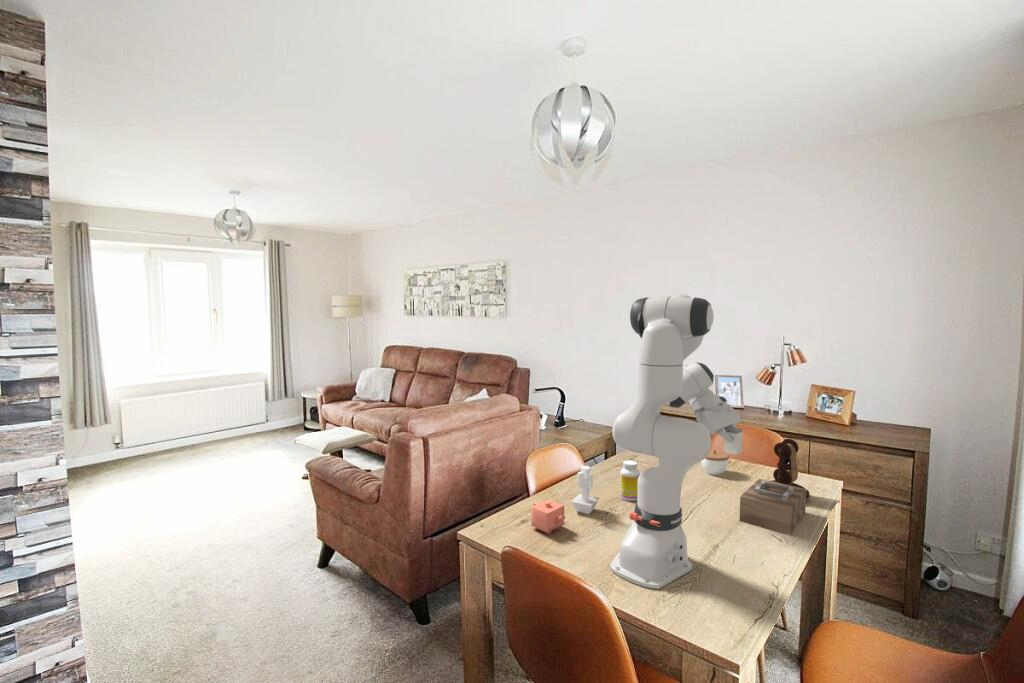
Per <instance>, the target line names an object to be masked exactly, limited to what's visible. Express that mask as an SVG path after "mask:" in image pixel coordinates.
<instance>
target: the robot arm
mask: <svg viewBox="0 0 1024 683" xmlns="http://www.w3.org/2000/svg"><path fill="white" fill-rule="evenodd" d="M629 312H630V313H629V321H630V326H631V328H632V329H633V331H634V332H635V333H636V334H637V335H639V338H641V341H640V346H639V348H640V349H639V361H638V362H639V363H638V364H639V366H638V381H637V382H638V383H637V390H636V394H635V397H634V399H633V402H632V403H631V404H630V405H629V407H628V408H627V409H626V410H624V411H623V412H621V413H620V414H619V415H618V416H617V417H616V418H615V420H614V422H613V424H612V428H611V429H612V430H611V432H612V438H613V440H614V442H615V444H616V445H617V447H620V448H621V449H624V450H626V451H629V452H632V453H636V454H642V455H647V456H650V457H651V456H652V457H656V458H658V465H654V466H652V467H649V468H646V469H644V470H643V471H641V472H640V475H639V477H638V482H637V500H636V501H637V502H636V503H635V507H634V510H633V511H630V513H629V516H628V517H629V520H630V521H631V520H632V522H631V524H630V526H629V528H628V530H627V531H626V534H625V535H624V538H623V539H622V541H621V543H620V547H619V551H618V553H617V554H616V555H615V557H614V558H613V560H612V561H611V562H610V563H609V569H610V570H611V571H612V572H613V573H614V574H615V575H617V576H618V577H620V578H622V579H624V580H626V581H628V582H631V583H633V584H636V585H638V586H642V587H644V588H648V589H656V590H657V589H659V590H660V589H661V588H663V587H665V586H666V585H669V584H670V583H672V582H673V581H675V580H677V579H679V578H680V577H682V576H683V575H686V574H687V573H689V572H690V571H692V570H693V563H692V562H691V561H690V560H689V559H688V558H689V557H688V542H687V541H688V540H687V535H686V533H685V531H684V529H683V527H682V525H681V524H682V519H683V510H682V507H681V494H682V486H683V480H684V478H685V476H686V474H687V473H688V471H689V470H690V469H691V468H692V467H694V465H696V464H697V463H701V461H702V460H703V459H704V458H705V457H706V456H707V455H708V453H709V451H710V450H711V448H712V435H714V434H718V436H720V437H721V438H723V439H724V440H725V439H726V440H727V442H729V443H730V442H732V441H733V440H734V438H733V437H732V436H731V435H729V434H728V433H727V432H726V430H725V428H728V427H736V428H738V427H737V426H736V425H738V424H739V423H741V417H740V415H739V414H738V413H737V411H736V410H735V409H734V408H733V407H732V405H731V404H729V403H728V399H727V398H726V397H724V396H719V395H718V394H715V393H714V392H713V391H712V390H711V389H710V387H711V386H712V385H713V383H714V380H715V379H714V378H715V375H714V373H713V372H712V371H711V369H710V368H709V367H708V366H707V365H706V364H705V363H702V362H698V361H696V362H694V363H691V364H689V365H688V364H684V361H685V360H686V359H687V358H689V356H690V355H692V354H693V353H694V352H695V351H697V349H698V348H699V347H700V346H701V344H702V342H703V340H704V336H706V335H707V334H708V333H709V332H710V331H711V329H712V326H713V323H714V319H715V318H714V317H715V316H714V315H715V314H714V310H713V308H712V304H711V302H710V301H708V300H707V299H705V298H703V297H702V298H701V297H696V296H695V297H693V298H692V297H691V296H689V295H688V294H684V293H677V294H674V295H671V296H657V297H656V296H655V297H651V298H650V297H642V298H639V299H636V300H635V301H634V303H633V304H632V305H631V308H630V311H629ZM687 402H688V403H689V406H690V407H691V408H692V409H693V411H694V416H695V417H696V418H695V419H696V421H694V420H692V419H688V418H683V417H676V416H669V415H662V414H661V407H662V406H663V405H666V406H667V407H671V408H676V409H678V408H682V406H684V405H685V404H686V403H687Z"/></svg>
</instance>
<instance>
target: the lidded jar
mask: <svg viewBox="0 0 1024 683" xmlns="http://www.w3.org/2000/svg"><path fill="white" fill-rule="evenodd" d="M729 459H730V454H729V453H726V452H724V451H722V450H717V449H710V451H709V453H708V455H707V456H706V457H705V458H704V459H703V460H702V461H700V465H701V467H702V469H703V470H704V471H705V473H706V474H709V475H713V476H721V475H723V473H725V472H726V471H727V469H728V467H729Z"/></svg>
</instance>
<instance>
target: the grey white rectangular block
mask: <svg viewBox="0 0 1024 683" xmlns="http://www.w3.org/2000/svg"><path fill="white" fill-rule="evenodd" d="M736 427H737V426H736ZM736 427H728V428H725V430H726V432H727V433H728V434H729V435H731V436H732V437H733V438H734V440H733V441H732V442H730V443H729V442H727V440H726V439H725V438H724V444H723V445H724V447H723V448H724V449H723V450H724V451H723V452H725V453H727V454H729V455H731V454H732V455H735V456H737V455H738V454H741V453H742V450H743V428H740V427H737V428H736Z"/></svg>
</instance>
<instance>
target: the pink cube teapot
mask: <svg viewBox="0 0 1024 683" xmlns="http://www.w3.org/2000/svg"><path fill="white" fill-rule="evenodd" d="M530 511H531V512H530V514H531V515H530V519H531V521H530V522H531V527H534V528H535V529H536V530H540V531H542V532H544V533H546V535H547V534H548V535H550V534H552V532H553V531H554V530H560V527H562V526H564V525H565V520H566V516H565V505H564V504H561V503H558V502H556V501H553V500H551V499H546V500H543V501H541V502H534V503H533V505H531V507H530Z"/></svg>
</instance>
